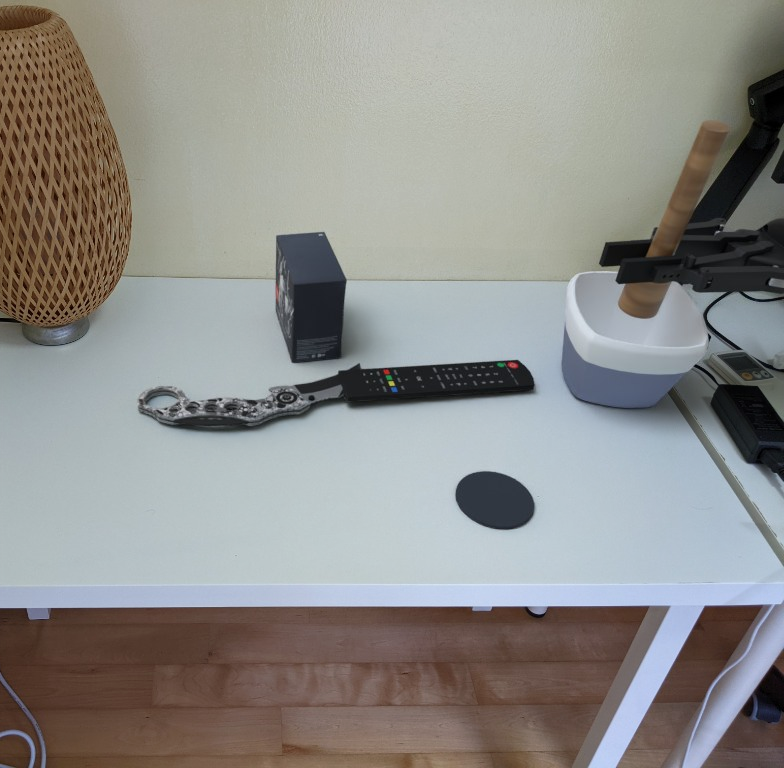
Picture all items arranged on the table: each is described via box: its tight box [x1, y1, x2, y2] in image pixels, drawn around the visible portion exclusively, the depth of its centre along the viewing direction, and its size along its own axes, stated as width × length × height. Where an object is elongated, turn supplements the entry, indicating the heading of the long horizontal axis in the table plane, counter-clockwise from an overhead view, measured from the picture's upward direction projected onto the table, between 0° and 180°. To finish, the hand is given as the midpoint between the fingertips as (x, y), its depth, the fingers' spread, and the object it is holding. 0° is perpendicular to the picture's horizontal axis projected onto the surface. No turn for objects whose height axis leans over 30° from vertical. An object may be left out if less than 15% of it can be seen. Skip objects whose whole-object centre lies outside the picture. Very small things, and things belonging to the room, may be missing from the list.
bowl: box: [561, 270, 710, 409], centre depth 94 cm, size 15×15×11 cm
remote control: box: [337, 359, 535, 403], centre depth 95 cm, size 5×24×1 cm, turn 98°
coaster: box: [454, 470, 535, 530], centre depth 81 cm, size 8×8×1 cm
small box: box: [274, 231, 348, 363], centre depth 101 cm, size 13×7×12 cm, turn 10°
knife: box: [136, 362, 362, 427], centre depth 93 cm, size 28×2×10 cm
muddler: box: [618, 120, 731, 319], centre depth 82 cm, size 4×4×22 cm
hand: (612, 263), depth 85 cm, fingers closed on muddler, 3 cm apart
